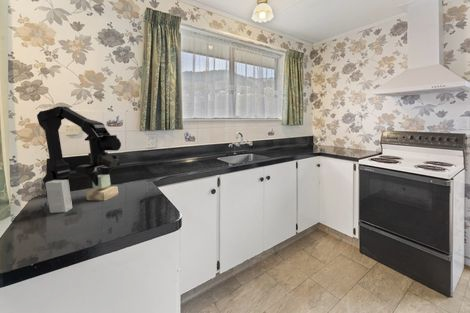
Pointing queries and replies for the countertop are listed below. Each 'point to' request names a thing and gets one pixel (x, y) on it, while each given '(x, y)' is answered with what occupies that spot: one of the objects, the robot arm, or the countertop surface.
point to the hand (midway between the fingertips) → (101, 184)
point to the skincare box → (59, 196)
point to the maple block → (102, 193)
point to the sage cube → (102, 181)
